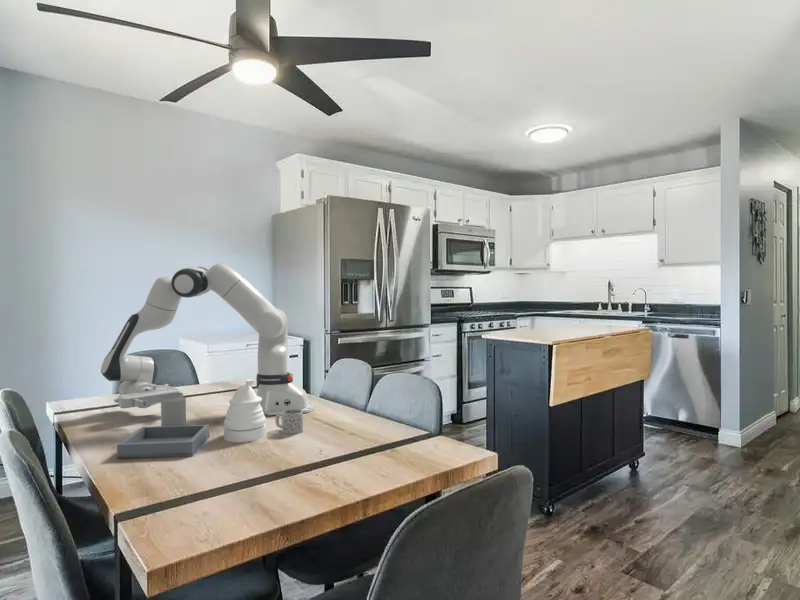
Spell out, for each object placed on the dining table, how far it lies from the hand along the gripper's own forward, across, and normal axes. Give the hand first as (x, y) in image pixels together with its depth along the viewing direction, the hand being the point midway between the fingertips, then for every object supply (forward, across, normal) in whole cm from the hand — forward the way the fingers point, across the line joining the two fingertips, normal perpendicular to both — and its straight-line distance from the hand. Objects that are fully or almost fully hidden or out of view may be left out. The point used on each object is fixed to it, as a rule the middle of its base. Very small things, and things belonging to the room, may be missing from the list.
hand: (158, 401), depth 177 cm
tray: (+30, -9, +8) cm, 32 cm away
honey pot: (+36, +13, +8) cm, 39 cm away
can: (+12, 0, +8) cm, 15 cm away
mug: (+41, +26, +7) cm, 49 cm away
